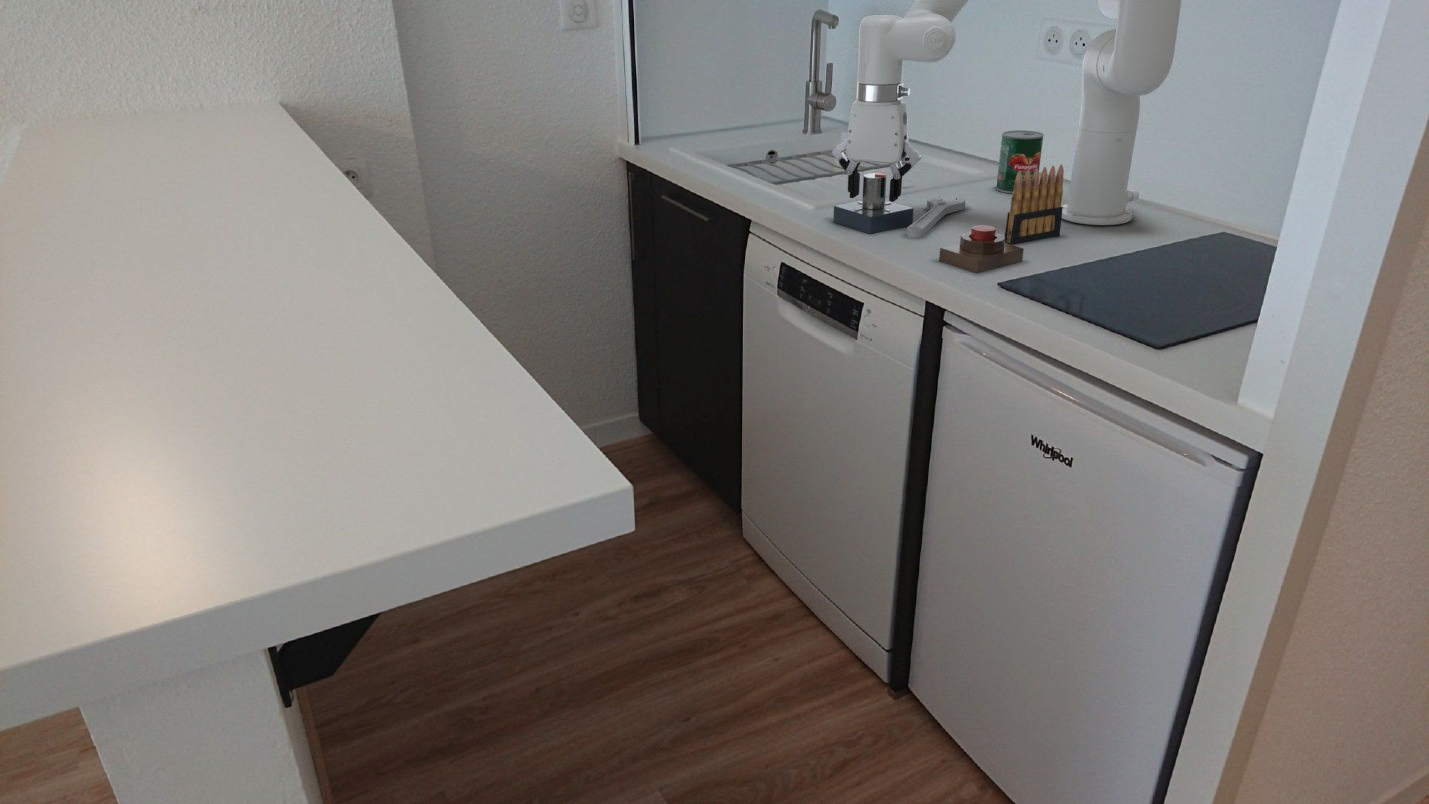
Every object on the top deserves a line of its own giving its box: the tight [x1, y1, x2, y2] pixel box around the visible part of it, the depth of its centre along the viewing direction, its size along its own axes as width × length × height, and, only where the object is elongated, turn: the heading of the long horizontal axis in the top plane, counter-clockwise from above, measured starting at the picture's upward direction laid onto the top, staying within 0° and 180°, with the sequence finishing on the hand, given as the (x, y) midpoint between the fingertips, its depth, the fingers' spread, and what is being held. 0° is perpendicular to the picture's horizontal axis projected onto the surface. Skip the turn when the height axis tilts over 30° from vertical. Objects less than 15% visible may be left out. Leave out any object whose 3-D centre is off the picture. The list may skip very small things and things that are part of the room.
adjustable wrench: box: [906, 196, 966, 239], centre depth 172 cm, size 25×6×2 cm, turn 148°
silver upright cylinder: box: [861, 172, 888, 209], centre depth 169 cm, size 4×4×6 cm
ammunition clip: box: [1003, 164, 1064, 246], centre depth 157 cm, size 11×2×12 cm, turn 116°
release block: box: [938, 231, 1025, 274], centre depth 148 cm, size 10×8×4 cm
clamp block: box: [833, 199, 915, 235], centre depth 170 cm, size 10×10×3 cm
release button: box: [970, 224, 997, 241], centre depth 147 cm, size 4×4×2 cm
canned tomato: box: [995, 129, 1045, 195], centre depth 190 cm, size 8×8×11 cm
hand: (873, 197), depth 169 cm, fingers open, 6 cm apart
